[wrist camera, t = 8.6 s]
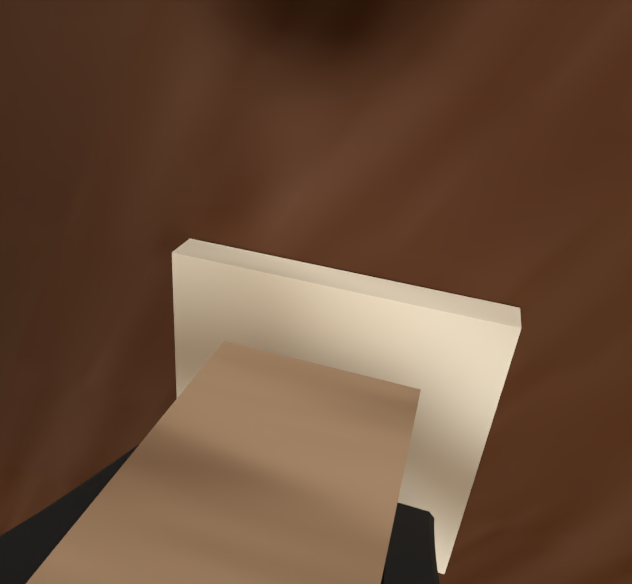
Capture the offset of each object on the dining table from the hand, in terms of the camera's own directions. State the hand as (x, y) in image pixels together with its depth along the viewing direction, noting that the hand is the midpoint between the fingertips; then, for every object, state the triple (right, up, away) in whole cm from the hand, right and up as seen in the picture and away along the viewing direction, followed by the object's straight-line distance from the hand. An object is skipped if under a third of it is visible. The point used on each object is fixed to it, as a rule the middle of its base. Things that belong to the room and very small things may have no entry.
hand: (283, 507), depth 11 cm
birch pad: (+1, +1, +3) cm, 3 cm away
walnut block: (0, +1, +1) cm, 2 cm away
